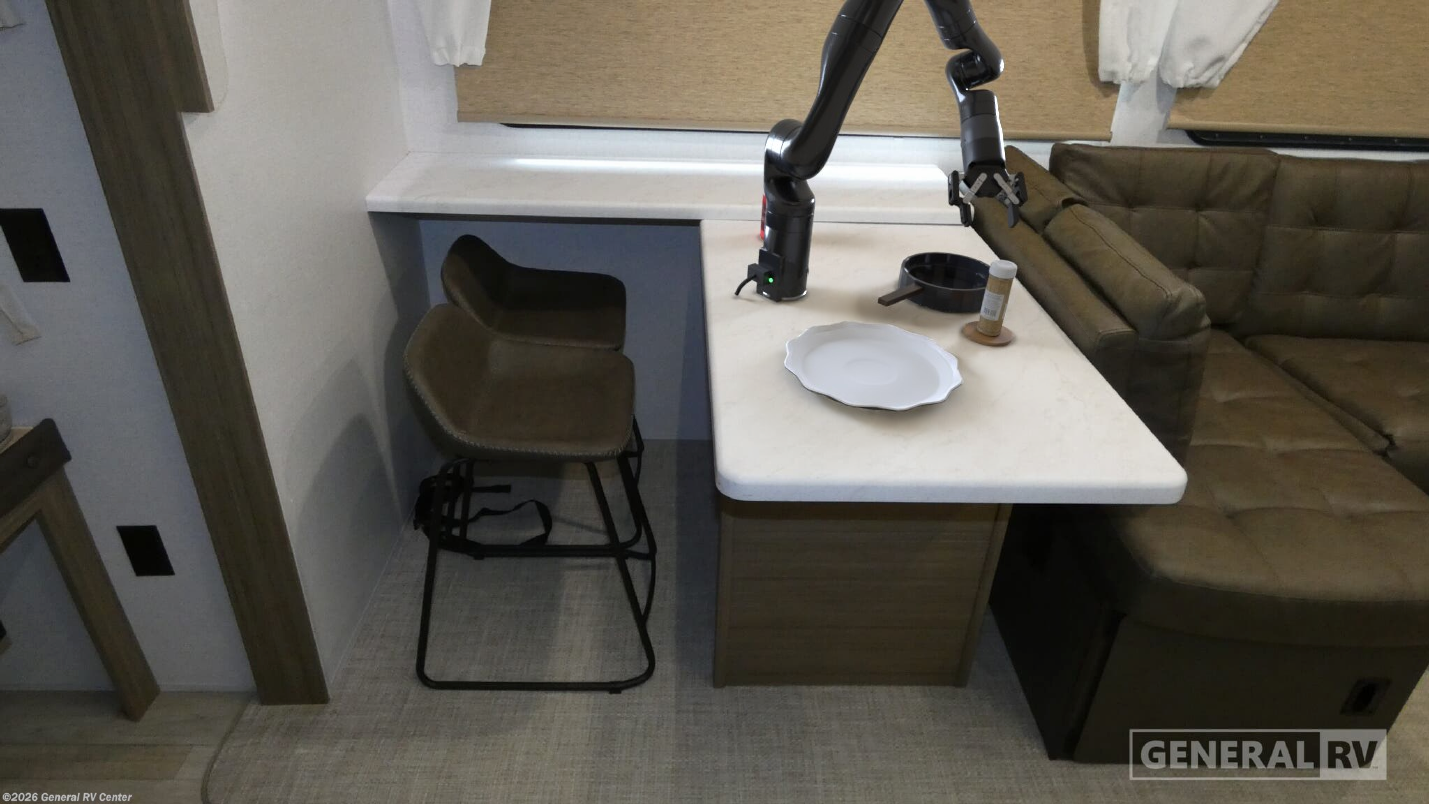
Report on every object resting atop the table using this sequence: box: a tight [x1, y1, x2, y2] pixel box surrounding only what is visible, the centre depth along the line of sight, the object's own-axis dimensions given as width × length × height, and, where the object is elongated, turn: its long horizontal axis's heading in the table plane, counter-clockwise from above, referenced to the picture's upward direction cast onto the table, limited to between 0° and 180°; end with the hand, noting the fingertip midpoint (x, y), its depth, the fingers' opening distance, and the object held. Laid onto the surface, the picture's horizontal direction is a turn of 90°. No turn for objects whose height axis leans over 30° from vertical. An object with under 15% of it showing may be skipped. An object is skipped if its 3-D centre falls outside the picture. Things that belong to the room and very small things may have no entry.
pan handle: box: [876, 283, 923, 308], centre depth 159 cm, size 11×2×1 cm, turn 131°
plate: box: [783, 320, 964, 412], centre depth 140 cm, size 29×29×2 cm
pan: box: [897, 251, 991, 314], centre depth 169 cm, size 19×19×5 cm
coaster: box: [962, 320, 1014, 347], centre depth 155 cm, size 9×9×1 cm
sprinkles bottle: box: [977, 259, 1018, 336], centre depth 151 cm, size 5×5×14 cm
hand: (990, 225), depth 153 cm, fingers open, 8 cm apart
